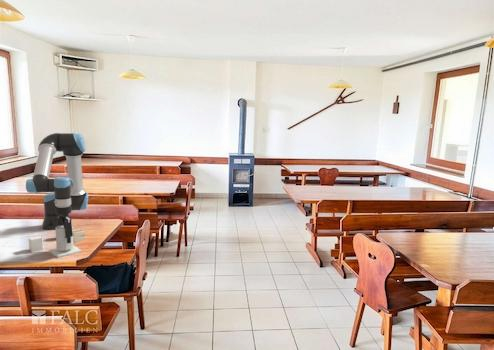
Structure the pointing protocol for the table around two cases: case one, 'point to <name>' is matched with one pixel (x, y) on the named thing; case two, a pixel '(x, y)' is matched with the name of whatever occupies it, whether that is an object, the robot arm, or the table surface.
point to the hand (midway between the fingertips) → (65, 246)
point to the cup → (62, 238)
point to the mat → (65, 252)
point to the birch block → (78, 235)
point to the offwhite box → (35, 244)
